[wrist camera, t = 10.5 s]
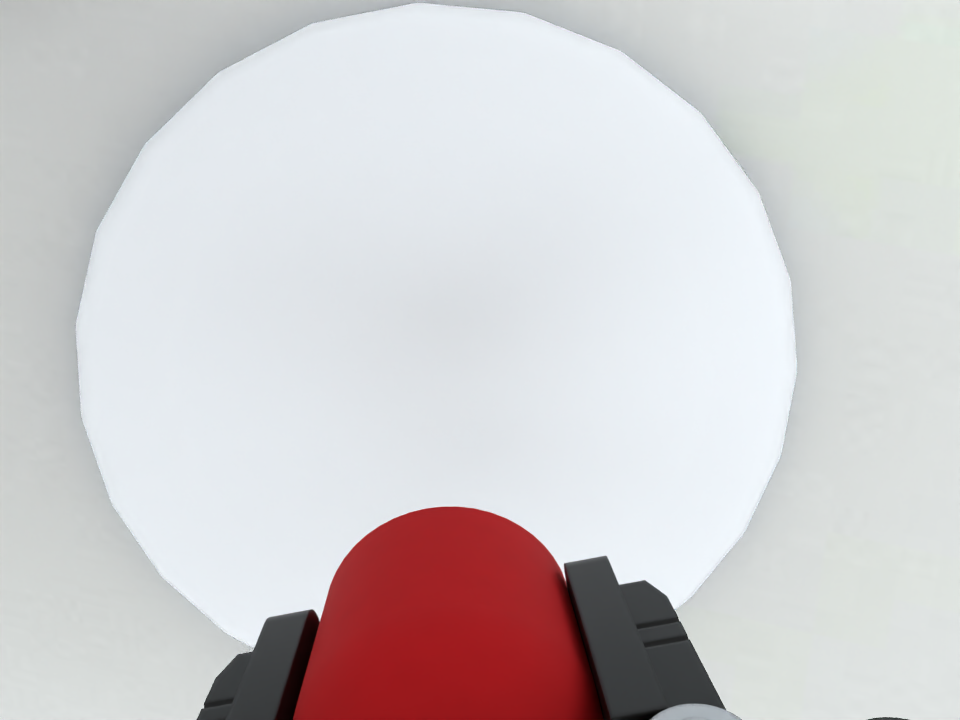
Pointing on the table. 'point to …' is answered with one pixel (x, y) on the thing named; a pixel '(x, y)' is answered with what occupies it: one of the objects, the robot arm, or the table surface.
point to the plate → (432, 312)
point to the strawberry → (448, 627)
